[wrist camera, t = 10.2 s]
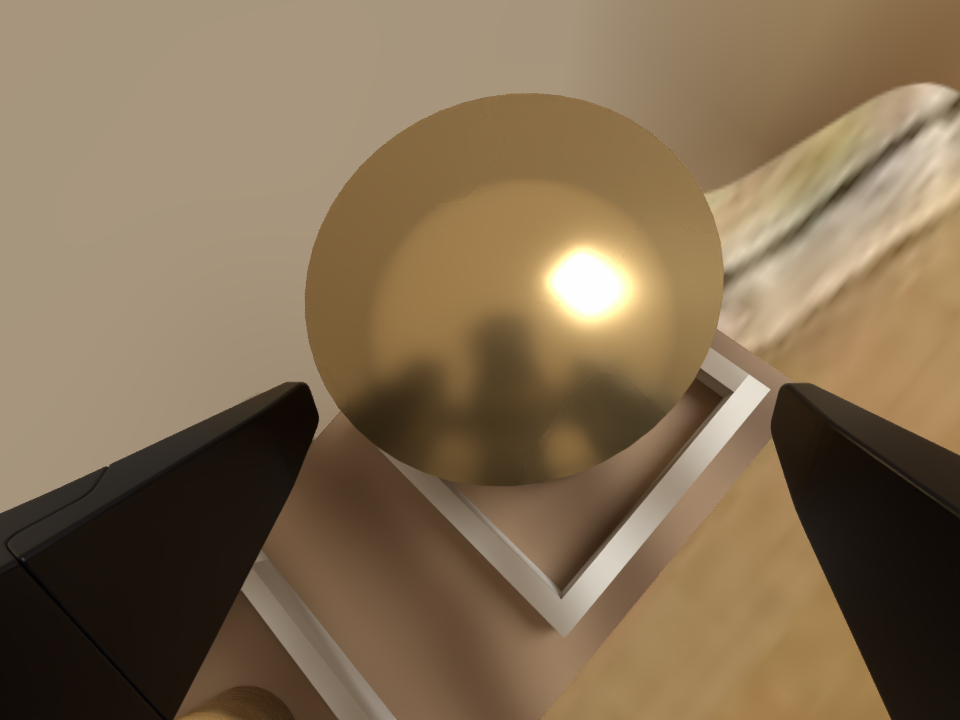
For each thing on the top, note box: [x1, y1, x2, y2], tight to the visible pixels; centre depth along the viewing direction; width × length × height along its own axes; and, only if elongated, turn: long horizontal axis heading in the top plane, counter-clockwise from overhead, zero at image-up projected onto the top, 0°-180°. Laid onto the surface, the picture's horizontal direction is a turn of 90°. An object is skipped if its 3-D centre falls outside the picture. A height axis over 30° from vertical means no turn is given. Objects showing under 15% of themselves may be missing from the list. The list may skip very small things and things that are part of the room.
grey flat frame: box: [174, 329, 796, 720], centre depth 18 cm, size 30×13×3 cm, turn 138°
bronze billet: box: [305, 93, 724, 486], centre depth 12 cm, size 5×5×13 cm
